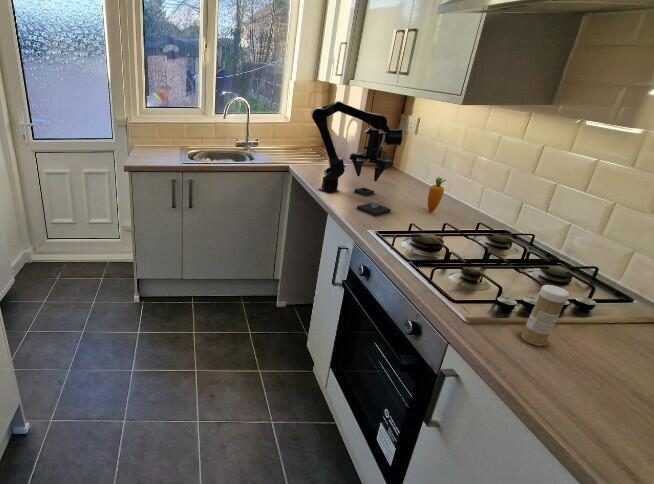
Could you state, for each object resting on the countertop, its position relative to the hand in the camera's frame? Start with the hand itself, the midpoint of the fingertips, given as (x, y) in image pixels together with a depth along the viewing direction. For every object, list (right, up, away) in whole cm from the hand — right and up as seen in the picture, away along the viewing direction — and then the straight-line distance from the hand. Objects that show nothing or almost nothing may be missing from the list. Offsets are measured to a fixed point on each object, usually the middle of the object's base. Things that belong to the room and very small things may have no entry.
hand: (366, 178), depth 188 cm
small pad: (0, -6, +3) cm, 7 cm away
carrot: (+17, -17, -20) cm, 31 cm away
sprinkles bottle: (-6, -51, -94) cm, 107 cm away
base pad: (-6, -16, -18) cm, 25 cm away
